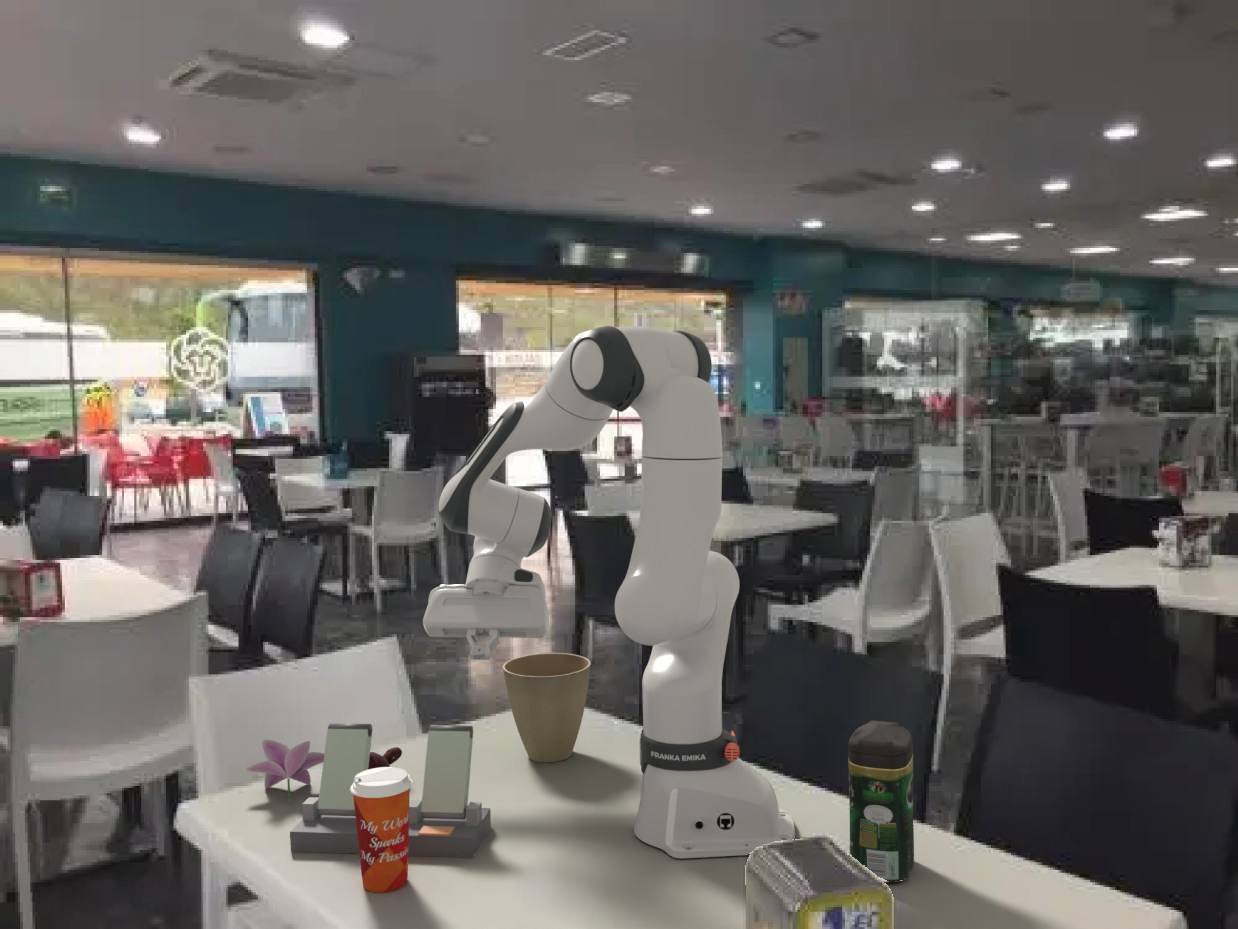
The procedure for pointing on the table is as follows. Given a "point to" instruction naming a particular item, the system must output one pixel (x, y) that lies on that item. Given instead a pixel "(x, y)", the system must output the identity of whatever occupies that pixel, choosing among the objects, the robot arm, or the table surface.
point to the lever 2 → (447, 772)
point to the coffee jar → (882, 799)
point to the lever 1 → (343, 766)
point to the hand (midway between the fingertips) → (479, 658)
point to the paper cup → (382, 827)
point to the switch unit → (423, 832)
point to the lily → (286, 763)
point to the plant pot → (547, 701)
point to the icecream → (384, 758)
